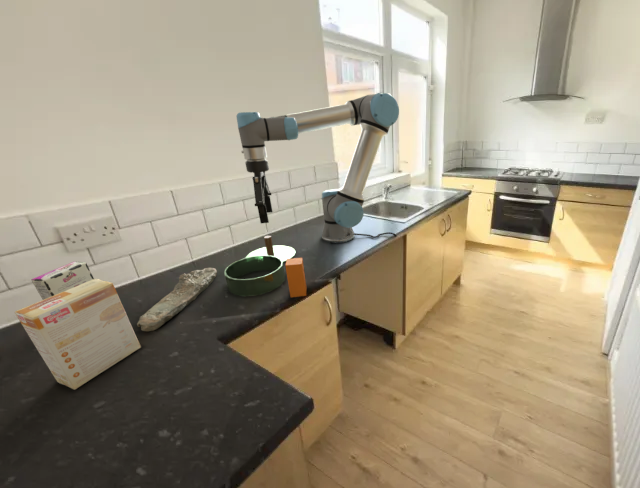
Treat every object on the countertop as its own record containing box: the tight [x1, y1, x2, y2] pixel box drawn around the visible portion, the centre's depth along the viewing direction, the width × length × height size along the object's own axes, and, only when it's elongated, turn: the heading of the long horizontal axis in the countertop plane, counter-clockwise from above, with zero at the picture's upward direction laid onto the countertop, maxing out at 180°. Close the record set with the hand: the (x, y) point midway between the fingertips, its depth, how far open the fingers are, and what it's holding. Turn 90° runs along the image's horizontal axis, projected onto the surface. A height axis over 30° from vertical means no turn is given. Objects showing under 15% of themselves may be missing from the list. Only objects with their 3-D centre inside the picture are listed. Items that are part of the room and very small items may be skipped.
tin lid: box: [245, 235, 297, 264], centre depth 131 cm, size 20×20×9 cm
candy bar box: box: [30, 261, 95, 300], centre depth 92 cm, size 11×5×16 cm, turn 170°
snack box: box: [284, 257, 308, 298], centre depth 103 cm, size 5×5×12 cm
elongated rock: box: [136, 267, 218, 332], centre depth 103 cm, size 35×5×10 cm
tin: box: [223, 255, 286, 297], centre depth 112 cm, size 19×19×6 cm
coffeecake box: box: [14, 278, 142, 391], centre depth 73 cm, size 15×7×20 cm, turn 159°
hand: (266, 217), depth 121 cm, fingers open, 13 cm apart
